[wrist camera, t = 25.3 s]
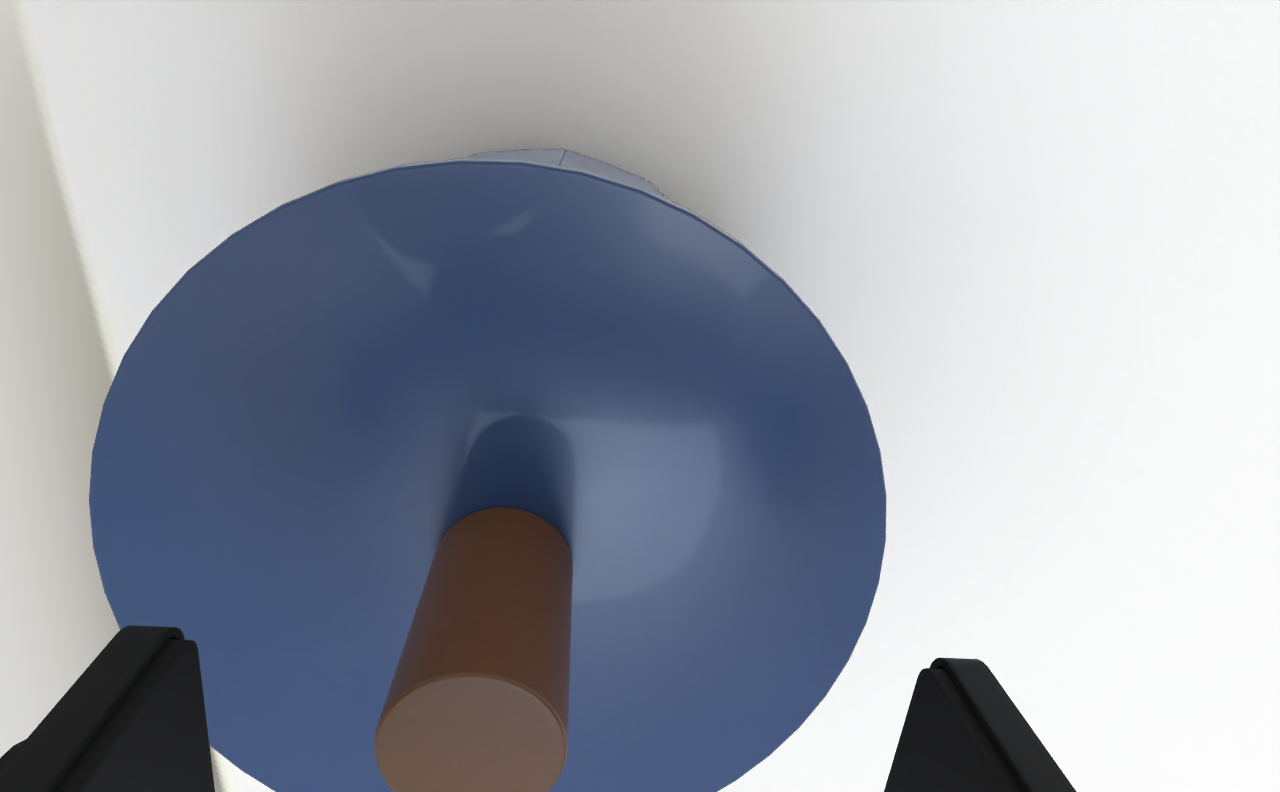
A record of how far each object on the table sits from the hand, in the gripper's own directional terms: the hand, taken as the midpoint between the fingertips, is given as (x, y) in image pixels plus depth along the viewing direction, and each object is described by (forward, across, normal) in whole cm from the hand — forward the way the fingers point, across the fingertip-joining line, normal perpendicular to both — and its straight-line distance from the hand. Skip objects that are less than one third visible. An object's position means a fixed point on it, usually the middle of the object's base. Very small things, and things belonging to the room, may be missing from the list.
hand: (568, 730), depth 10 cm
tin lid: (+5, +1, +1) cm, 6 cm away
